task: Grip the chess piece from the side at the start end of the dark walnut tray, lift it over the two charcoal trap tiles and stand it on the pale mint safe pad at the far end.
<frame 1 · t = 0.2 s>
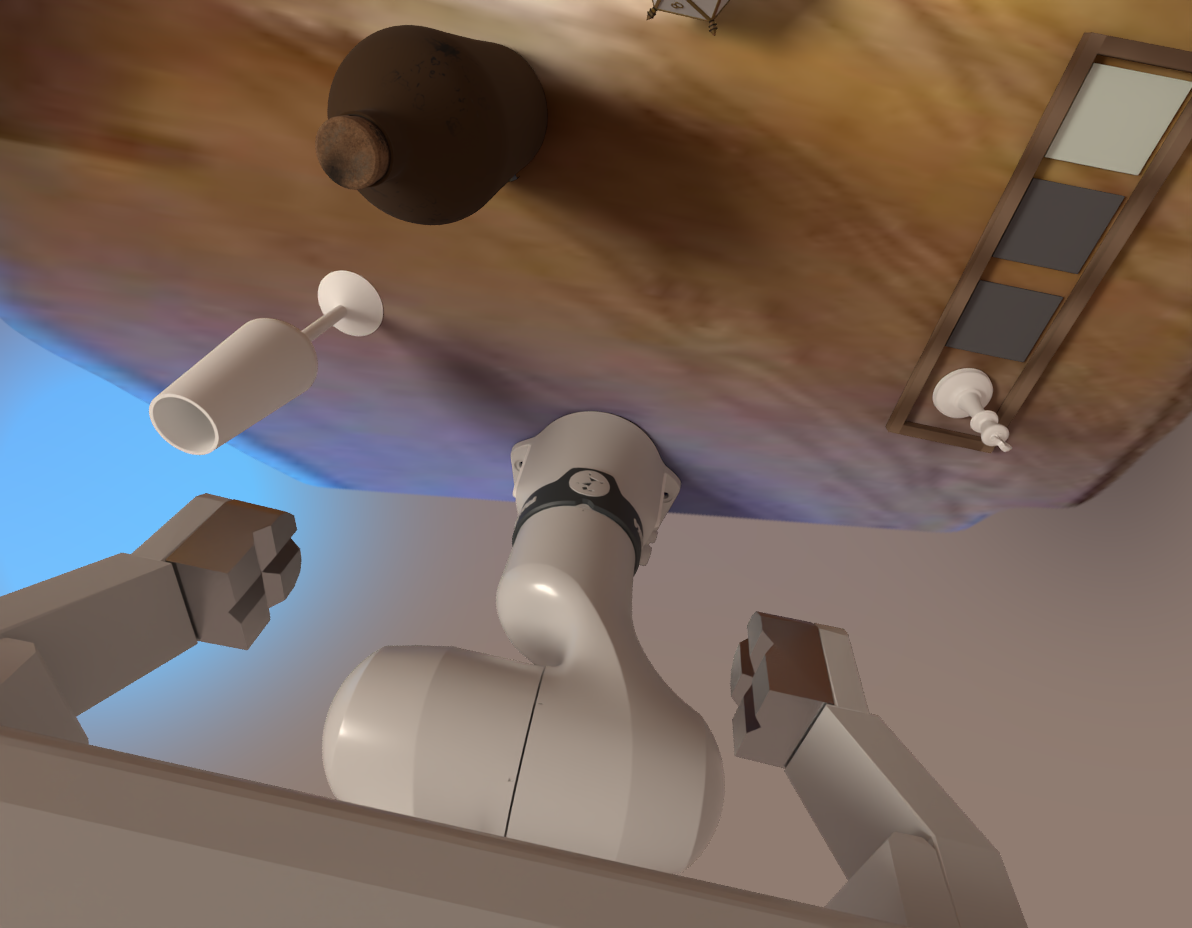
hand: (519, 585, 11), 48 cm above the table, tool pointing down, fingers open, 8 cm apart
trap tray: (1027, 276, 51), on the table
chess piece: (960, 391, 58), resting in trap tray
champagne flute: (351, 303, 61), on the table
trap tiles: (1027, 276, 51), resting in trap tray
safe pad: (1116, 121, 45), resting in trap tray
olive oil: (491, 112, 50), on the table
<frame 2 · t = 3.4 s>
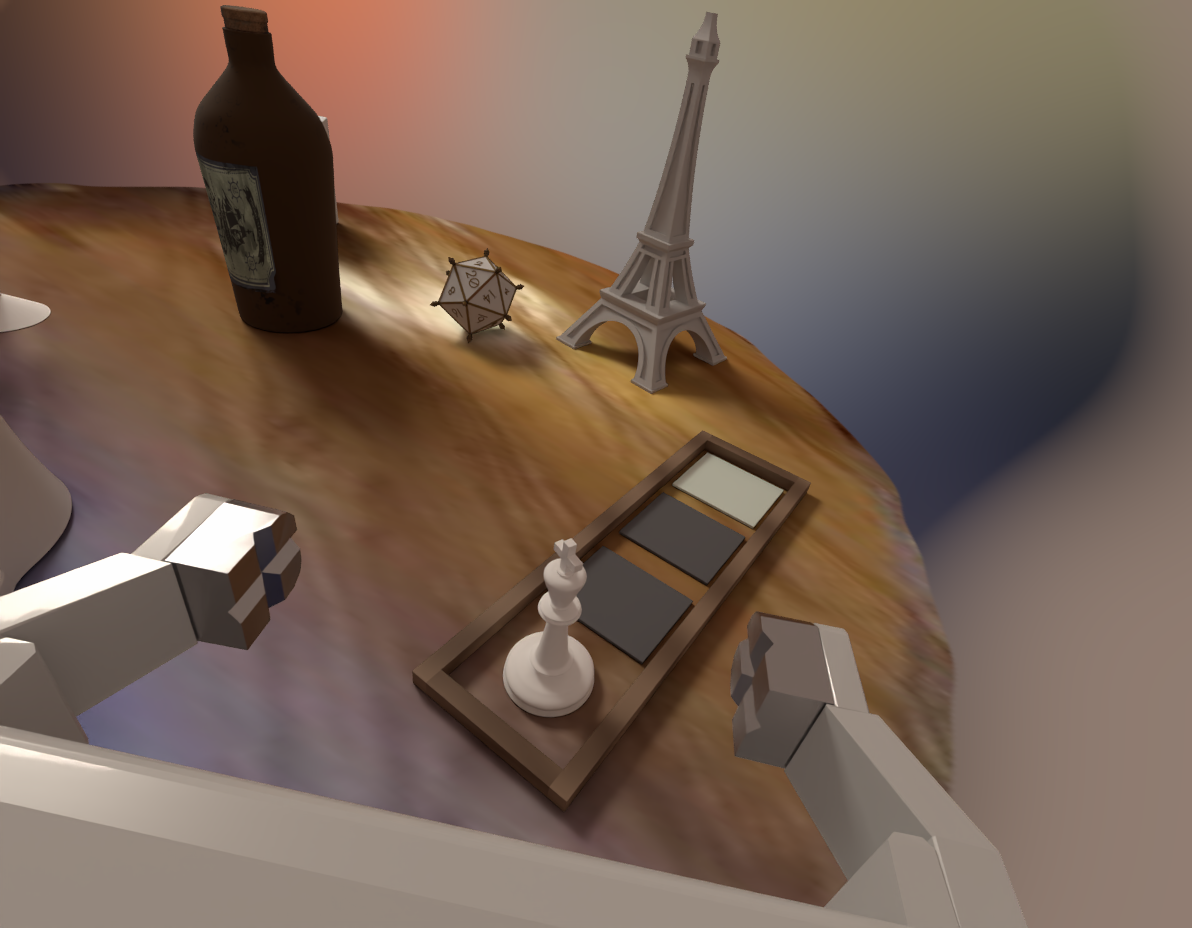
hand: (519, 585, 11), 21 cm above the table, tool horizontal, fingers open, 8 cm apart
eiffel tower: (642, 352, 67), on the table
game die: (476, 332, 65), on the table
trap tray: (653, 566, 41), on the table
chess piece: (548, 677, 34), resting in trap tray
champagne flute: (3, 317, 54), on the table
trap tiles: (653, 566, 41), resting in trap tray
safe pad: (728, 487, 49), resting in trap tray
olive oil: (291, 314, 62), on the table
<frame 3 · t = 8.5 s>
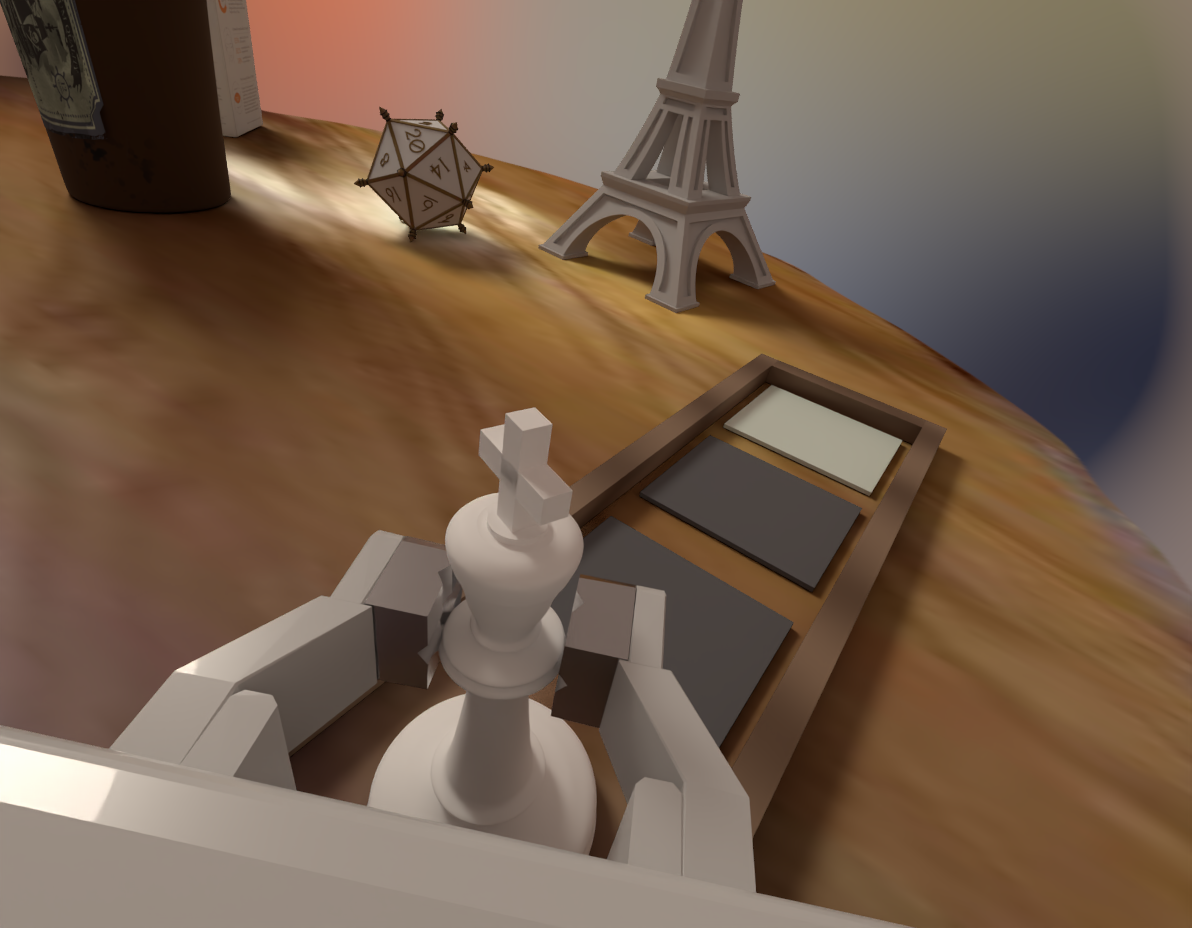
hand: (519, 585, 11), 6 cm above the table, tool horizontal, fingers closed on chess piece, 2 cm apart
eiffel tower: (658, 271, 48), on the table
game die: (426, 234, 46), on the table
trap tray: (707, 554, 21), on the table
small box: (218, 129, 63), on the table
chess piece: (484, 809, 14), resting in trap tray, touching gripper
trap tiles: (707, 554, 21), resting in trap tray
safe pad: (814, 434, 30), resting in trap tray
olive oil: (153, 197, 43), on the table
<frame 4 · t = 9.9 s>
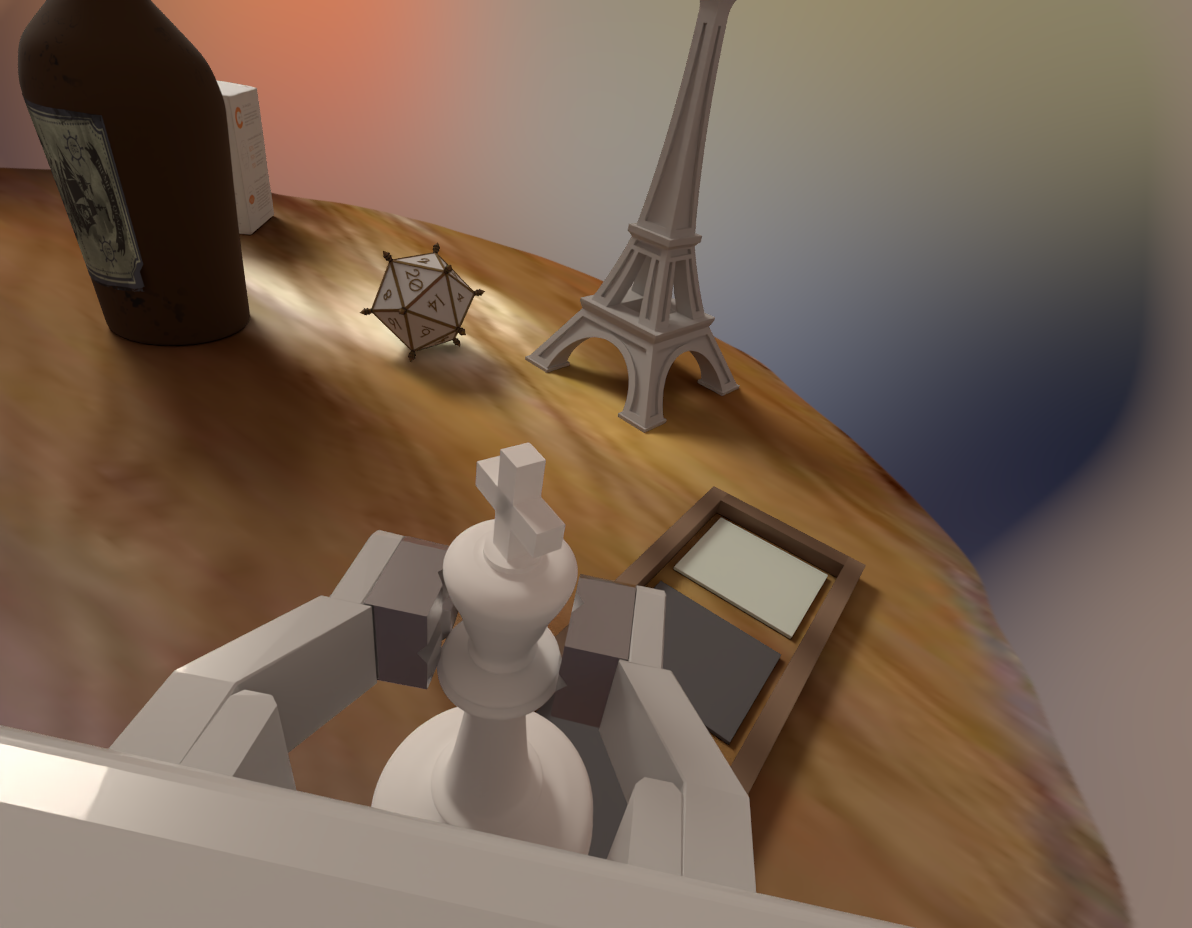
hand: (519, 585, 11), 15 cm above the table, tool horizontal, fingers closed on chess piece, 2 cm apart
eiffel tower: (633, 377, 54), on the table
game die: (424, 349, 51), on the table
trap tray: (647, 710, 27), on the table
small box: (233, 223, 68), on the table
chess piece: (483, 818, 14), point 9 cm above the table, touching gripper
trap tiles: (647, 710, 27), resting in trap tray
safe pad: (752, 572, 35), resting in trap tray
olive oil: (181, 322, 48), on the table
when the fingers open (8 cm above the table, at t = 14.1 s): chess piece moves 2 cm, resting on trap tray.
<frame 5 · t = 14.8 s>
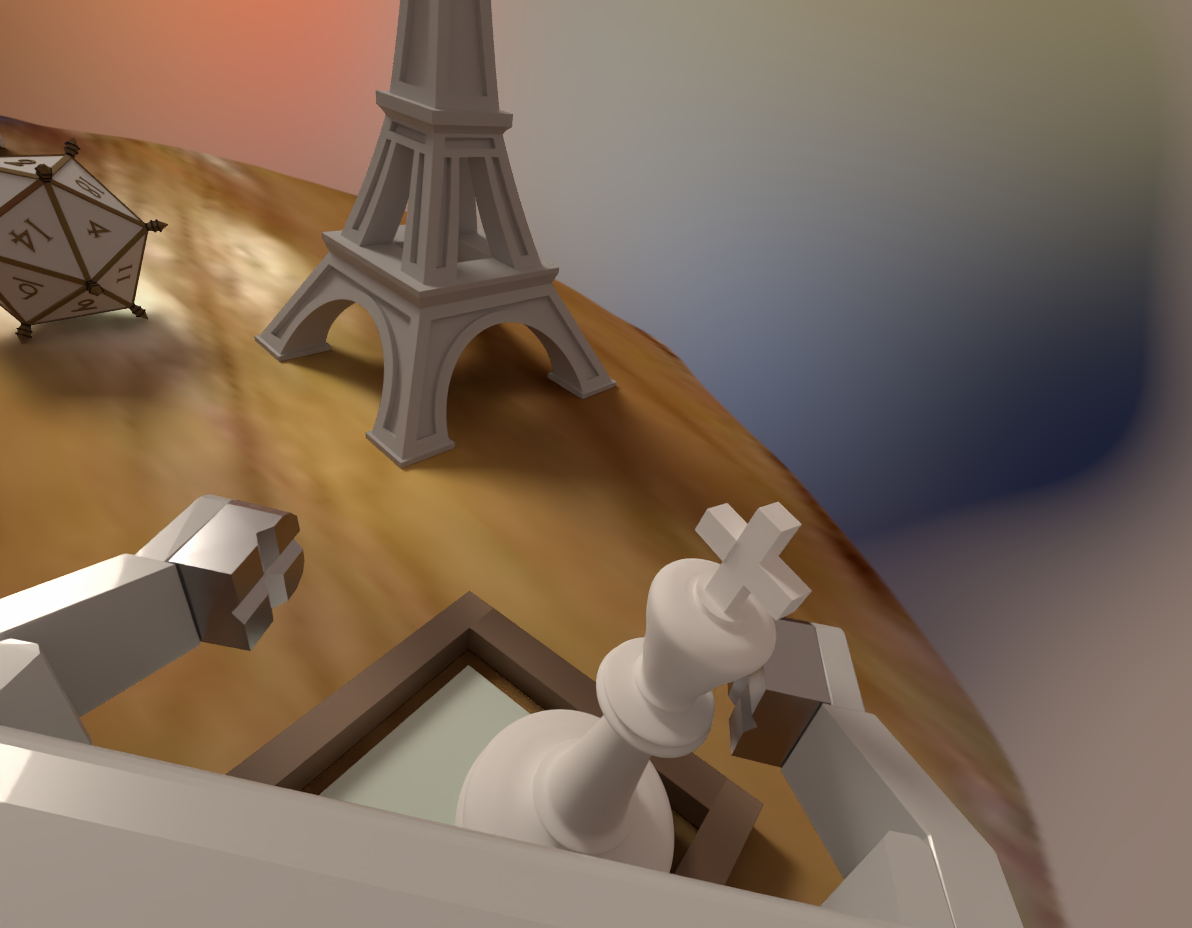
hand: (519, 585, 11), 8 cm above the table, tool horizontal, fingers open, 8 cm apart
eiffel tower: (441, 369, 33), on the table
game die: (77, 323, 31), on the table
chess piece: (562, 827, 14), point 1 cm above the table, touching gripper, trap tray
safe pad: (483, 833, 14), resting in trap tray
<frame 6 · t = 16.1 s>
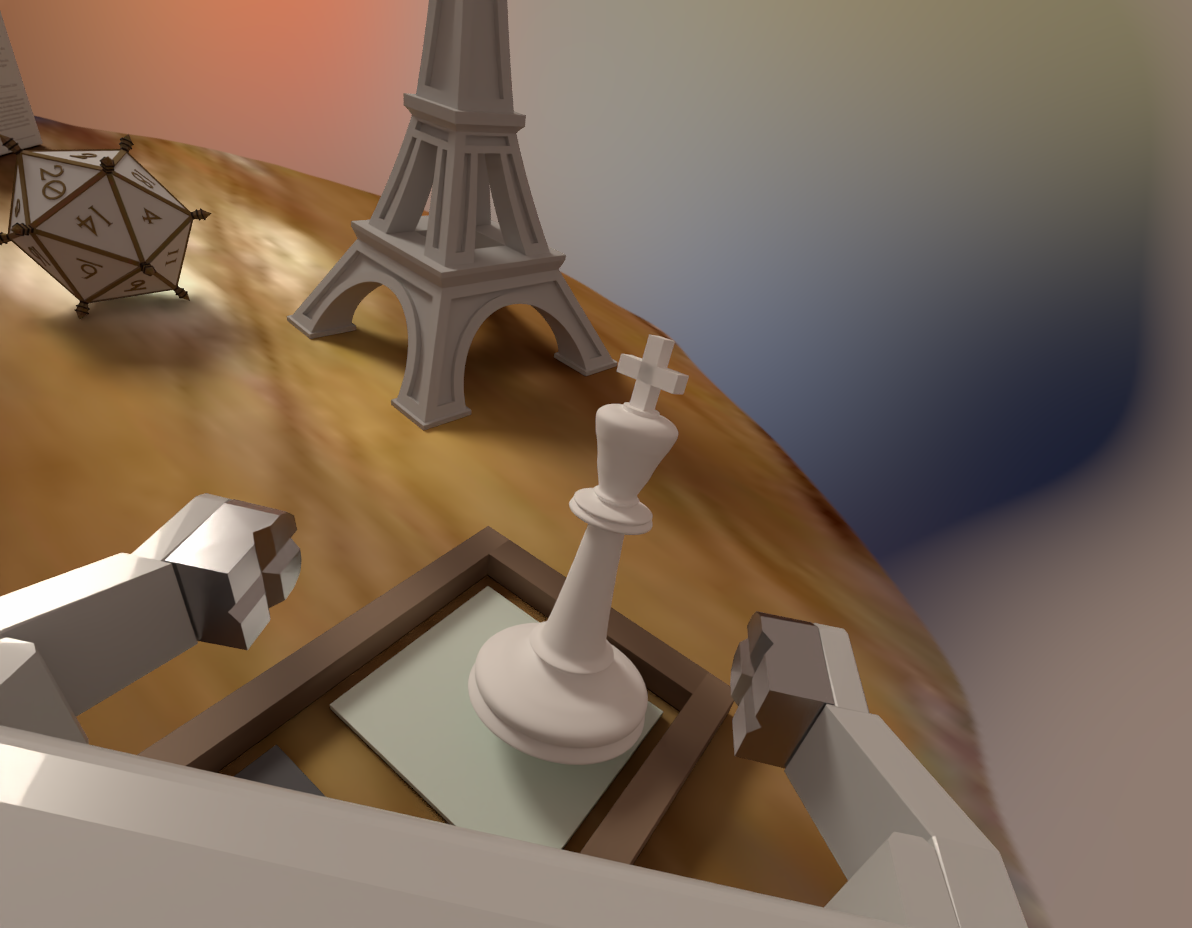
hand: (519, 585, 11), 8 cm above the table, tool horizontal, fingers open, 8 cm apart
eiffel tower: (456, 349, 36), on the table
game die: (126, 303, 34), on the table
chess piece: (555, 701, 17), point 1 cm above the table, touching safe pad
safe pad: (503, 710, 17), resting in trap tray
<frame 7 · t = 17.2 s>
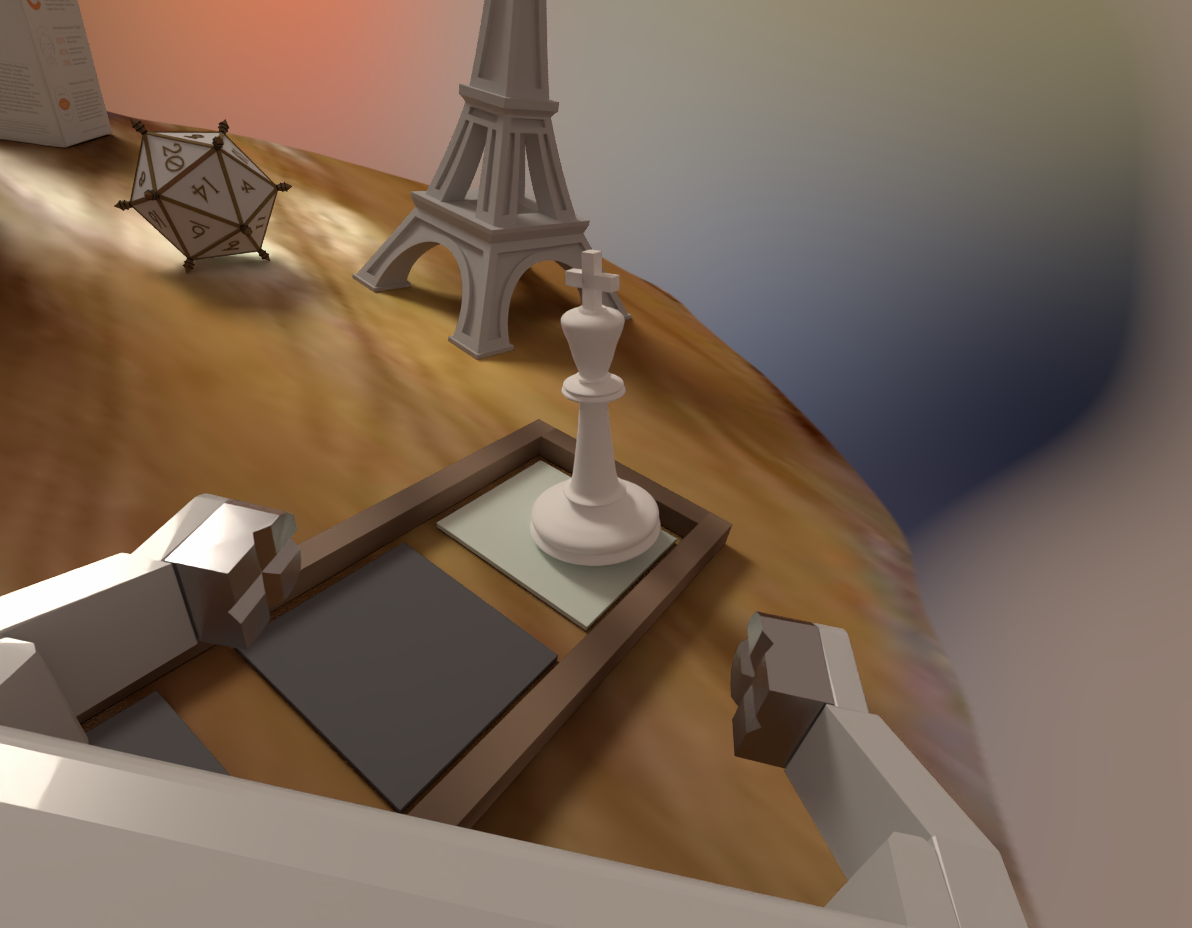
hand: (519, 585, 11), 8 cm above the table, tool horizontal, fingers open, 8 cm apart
eiffel tower: (494, 303, 42), on the table
game die: (218, 262, 40), on the table
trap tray: (273, 751, 15), on the table
small box: (53, 138, 57), on the table
chess piece: (595, 529, 24), resting on safe pad
trap tiles: (273, 751, 15), resting in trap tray
safe pad: (559, 532, 24), resting in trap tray
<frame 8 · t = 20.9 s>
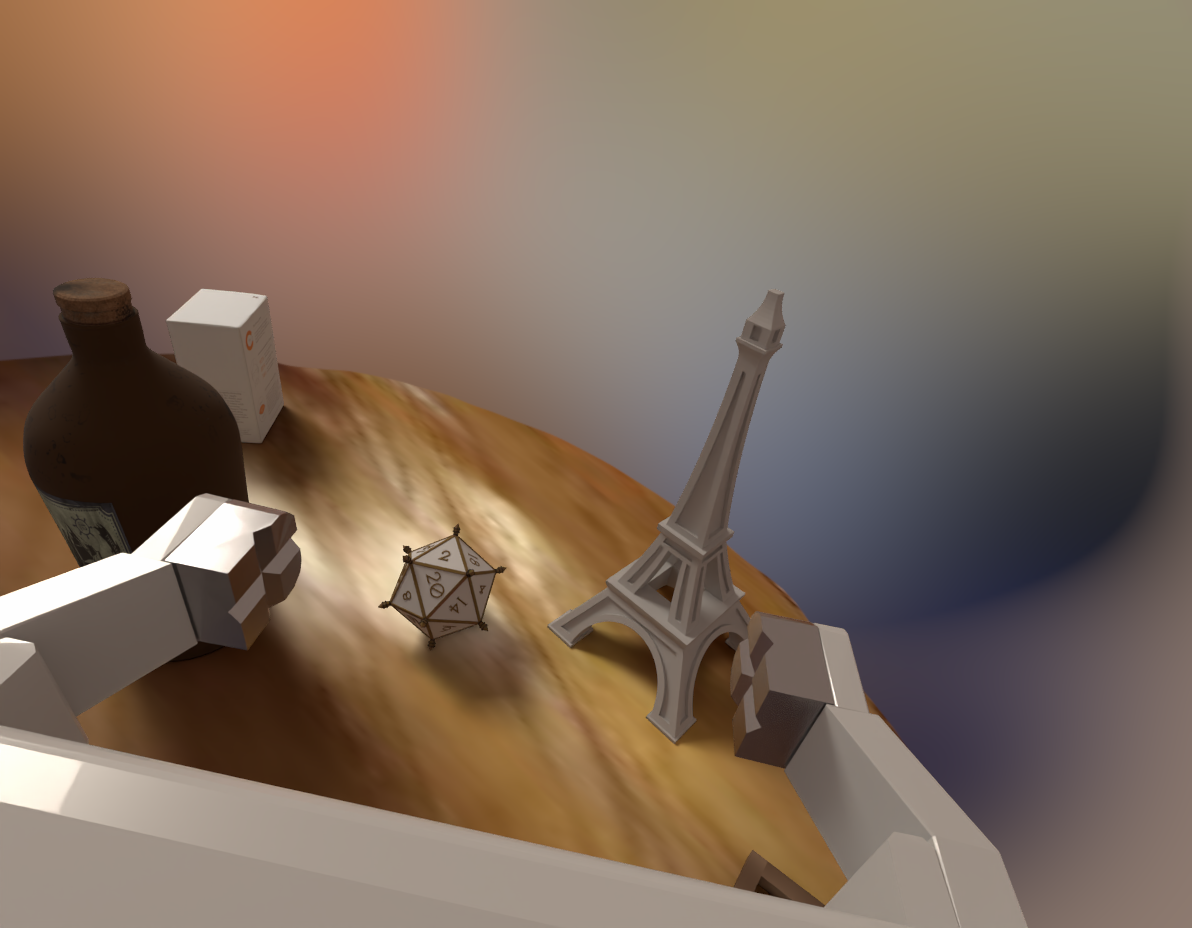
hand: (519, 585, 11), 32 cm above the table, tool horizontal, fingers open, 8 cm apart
eiffel tower: (658, 639, 52), on the table
game die: (443, 622, 49), on the table
small box: (242, 423, 66), on the table
olive oil: (192, 612, 46), on the table
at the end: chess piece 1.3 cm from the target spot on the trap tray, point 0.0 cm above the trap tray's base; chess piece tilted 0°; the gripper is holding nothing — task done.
